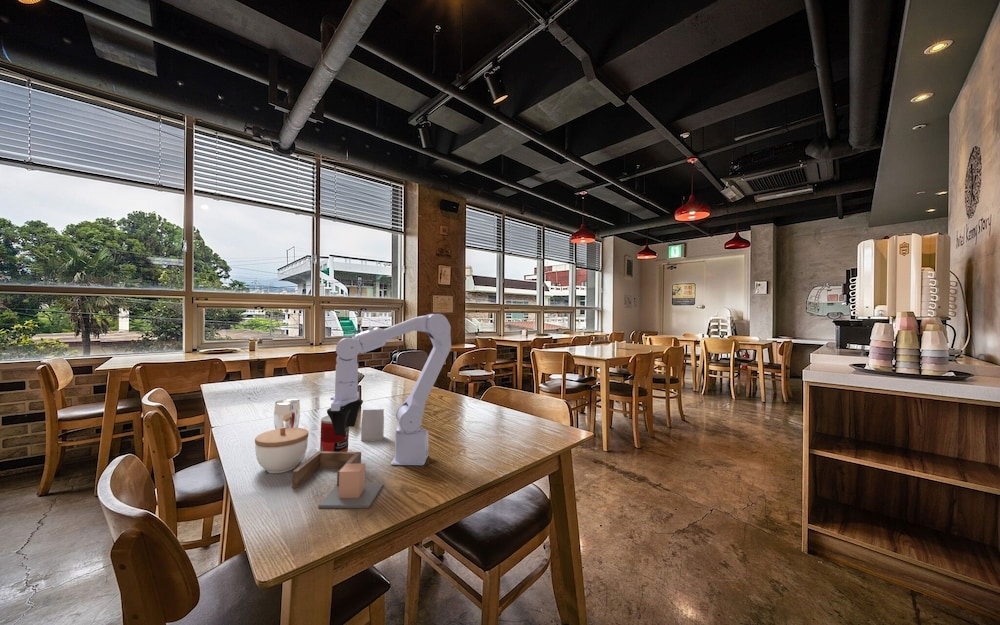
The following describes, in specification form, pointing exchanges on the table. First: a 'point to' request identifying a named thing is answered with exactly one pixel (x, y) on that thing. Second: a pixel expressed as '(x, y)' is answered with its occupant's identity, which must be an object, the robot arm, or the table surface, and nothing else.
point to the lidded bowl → (281, 449)
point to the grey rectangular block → (372, 425)
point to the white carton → (287, 413)
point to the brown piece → (323, 464)
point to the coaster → (361, 502)
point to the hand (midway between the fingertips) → (345, 430)
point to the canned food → (332, 437)
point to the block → (351, 480)
